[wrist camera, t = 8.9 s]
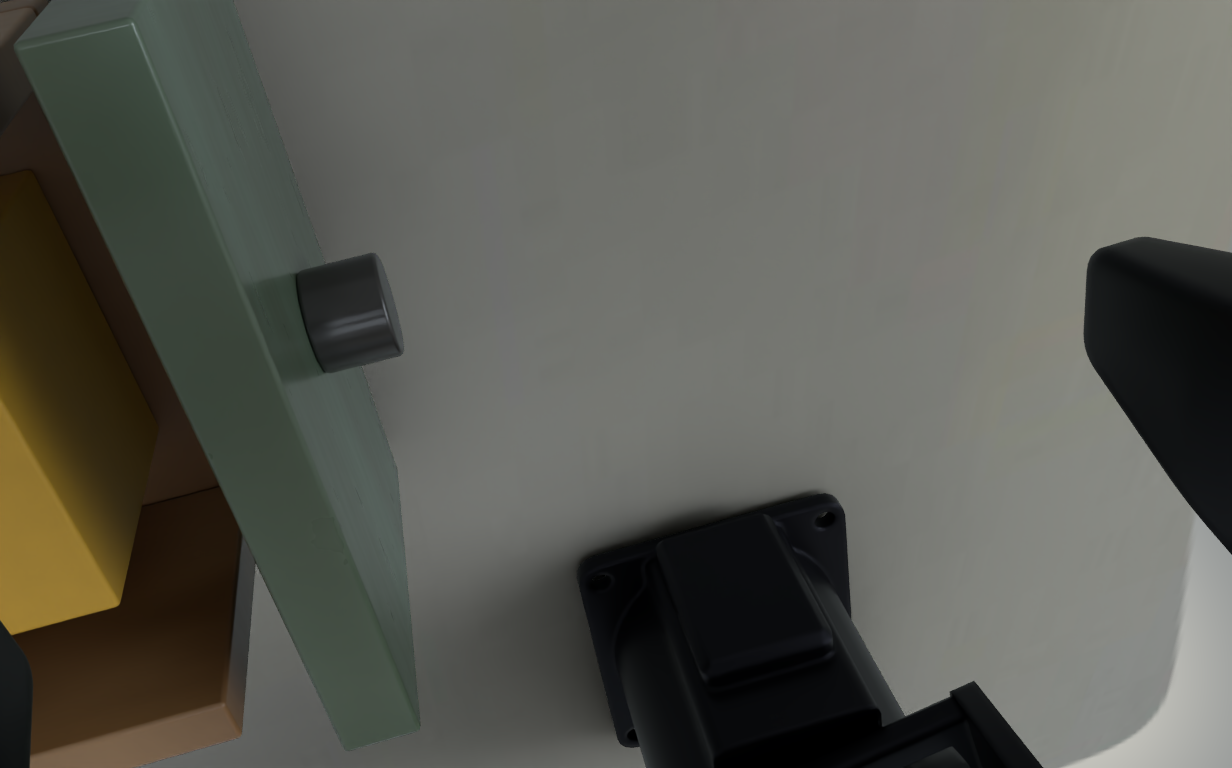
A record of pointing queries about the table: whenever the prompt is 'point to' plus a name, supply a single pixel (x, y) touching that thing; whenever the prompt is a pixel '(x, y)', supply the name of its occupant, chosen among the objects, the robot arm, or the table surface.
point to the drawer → (211, 388)
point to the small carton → (61, 427)
